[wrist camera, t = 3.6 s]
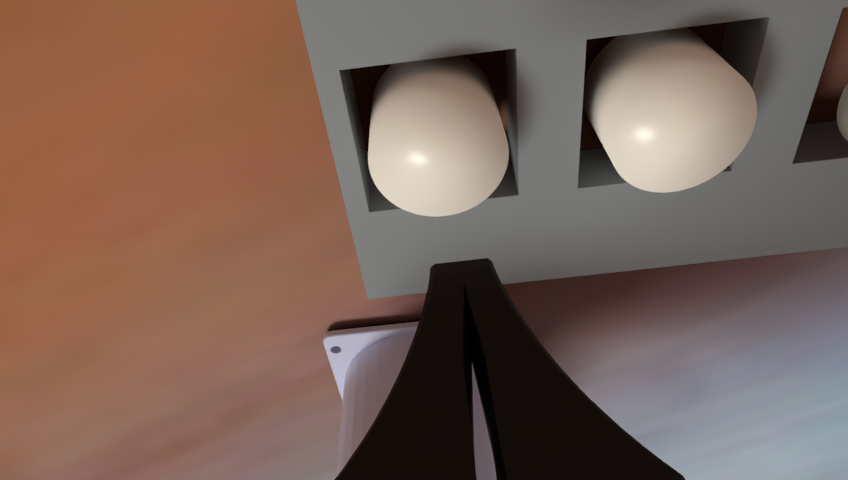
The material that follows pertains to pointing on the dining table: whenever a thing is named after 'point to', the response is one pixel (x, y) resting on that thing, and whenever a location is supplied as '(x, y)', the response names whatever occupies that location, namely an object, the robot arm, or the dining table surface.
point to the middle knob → (668, 109)
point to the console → (561, 134)
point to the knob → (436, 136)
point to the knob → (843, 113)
